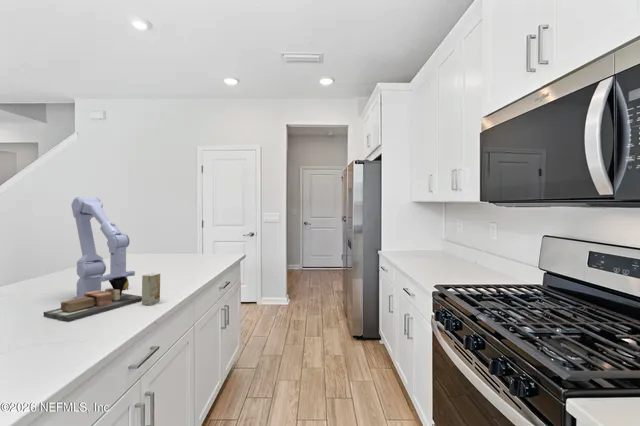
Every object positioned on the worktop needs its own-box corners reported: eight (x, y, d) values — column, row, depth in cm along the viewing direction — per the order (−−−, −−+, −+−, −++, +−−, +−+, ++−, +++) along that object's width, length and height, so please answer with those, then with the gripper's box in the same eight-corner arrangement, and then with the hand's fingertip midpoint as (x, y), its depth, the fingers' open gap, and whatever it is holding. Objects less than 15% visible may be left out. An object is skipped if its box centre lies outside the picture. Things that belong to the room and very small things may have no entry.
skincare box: (150, 305, 144) (150, 275, 144) (141, 304, 145) (141, 275, 144) (160, 301, 150) (160, 273, 150) (151, 300, 151) (151, 272, 151)
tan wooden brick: (60, 310, 129) (60, 299, 129) (109, 297, 147) (109, 288, 147) (70, 312, 127) (70, 301, 127) (119, 299, 145) (119, 289, 145)
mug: (128, 290, 169) (129, 276, 169) (112, 291, 166) (112, 277, 166) (128, 285, 180) (128, 272, 180) (112, 286, 176) (113, 272, 176)
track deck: (43, 316, 128) (43, 300, 128) (121, 296, 157) (122, 283, 157) (68, 321, 122) (68, 304, 122) (144, 300, 152) (144, 286, 151)
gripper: (108, 266, 139) (108, 300, 139) (140, 261, 152) (139, 292, 153) (96, 265, 142) (96, 298, 142) (128, 260, 155) (128, 290, 155)
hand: (118, 295), depth 147 cm, fingers closed
